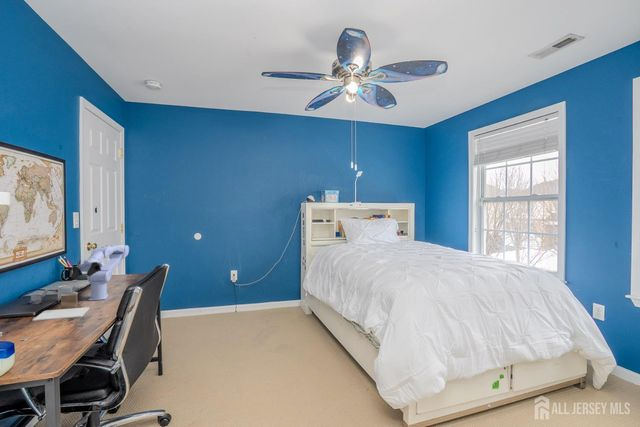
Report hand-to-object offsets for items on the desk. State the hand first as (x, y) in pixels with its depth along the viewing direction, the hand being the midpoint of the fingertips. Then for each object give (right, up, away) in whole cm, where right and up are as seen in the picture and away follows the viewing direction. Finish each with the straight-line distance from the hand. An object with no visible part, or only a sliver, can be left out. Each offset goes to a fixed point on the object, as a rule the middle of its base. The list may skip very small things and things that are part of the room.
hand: (80, 276), depth 155 cm
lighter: (-26, -16, +6) cm, 32 cm away
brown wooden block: (-6, -17, 0) cm, 18 cm away
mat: (-2, -17, -8) cm, 18 cm away
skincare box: (-19, -16, +14) cm, 29 cm away
